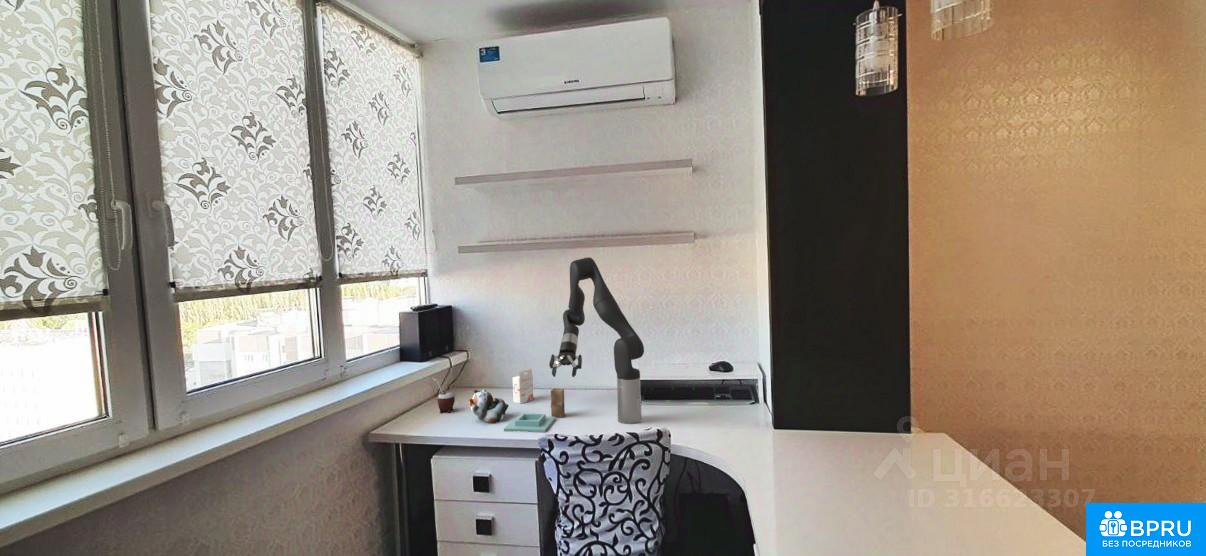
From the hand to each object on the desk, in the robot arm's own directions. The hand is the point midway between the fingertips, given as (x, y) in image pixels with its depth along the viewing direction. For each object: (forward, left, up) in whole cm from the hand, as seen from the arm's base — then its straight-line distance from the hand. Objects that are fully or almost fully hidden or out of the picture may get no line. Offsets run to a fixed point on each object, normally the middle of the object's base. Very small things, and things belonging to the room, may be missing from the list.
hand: (563, 375), depth 210 cm
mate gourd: (+51, +9, -15) cm, 54 cm away
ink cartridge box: (+22, -10, -15) cm, 28 cm away
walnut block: (0, +11, -14) cm, 18 cm away
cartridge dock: (+8, +23, -14) cm, 28 cm away
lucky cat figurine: (+27, +17, -15) cm, 35 cm away
